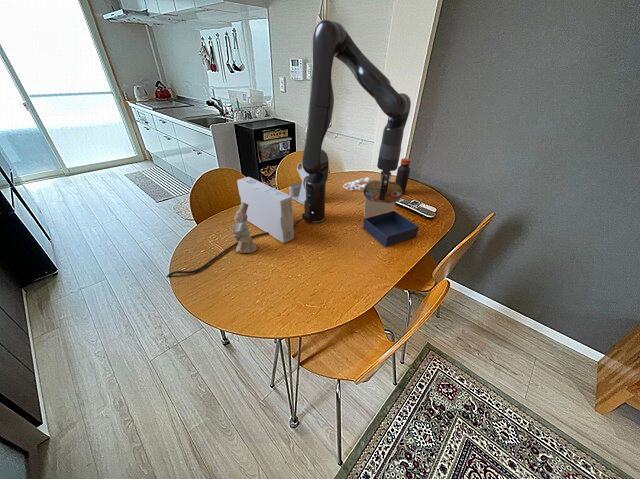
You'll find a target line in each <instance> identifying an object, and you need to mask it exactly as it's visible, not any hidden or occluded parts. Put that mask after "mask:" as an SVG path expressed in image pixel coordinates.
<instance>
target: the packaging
mask: <svg viewBox="0 0 640 479" xmlns="http://www.w3.org/2000/svg"><path fill="white" fill-rule="evenodd" d="M236 184H237V189H238V195H239V200H240V204H241V203H242V202H244V203H247V204H248V209H247V213H246V215H247V216H248V218H247V220H246V222H249V223H250V224H252V225H254V226H255V227H256V228H259V229H260V230H262V231H264V233H266V232H269V234H268V235H270V236H271V237H273V238H274V239H276V240H278V241H279V242H281V243H283V244H286V243H287V242H289V241H291V240H293V239H295V231H294V228H295V227H293V225H294V214H293V213H294V212H293V211H294V210H293V199H292V197H291V196H290V194H288V193H286V192H283V191H282V190H279V189H276V188H274V187H272V186H270V185H268V184H266V183H264V182H261V181H259V180H258V179H255V178H253V177H250V176H245V177H241V178H239V179H236Z"/></svg>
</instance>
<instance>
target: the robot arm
mask: <svg viewBox="0 0 640 479" xmlns="http://www.w3.org/2000/svg"><path fill="white" fill-rule="evenodd" d="M334 58H336V59H337V60H338V61H340V62H342V63H343V64H344V65H345V66H346V67H347V68H348V69H349V70H350V72H351V73H352V75H353V76H354V78H355V80H356V81H357V83H358V84H359V85H360V86H361V87H362V88H363V90H364V91H365V92H366V93H367V94H368V95H370V96H371V98H373V99H374V101H375V102H376V104H377V106H378V107H379V108H380V109H381V111H382V113H384V114H385V115H386V116H387V117H388V118H387V123H386V124H385V126H384V128H383V130H382V137H381V143H380V147H379V151H378V158H377V165H376V167H377V169H379V170H381V171H380V177H379V178H380V179H379V181H380V186H381V188H380V196H379V200H383V201H384V200H385V195H386V193H387V189H388V186H389V182H391V179H392V172H395V171H397V170H398V167H399V163H400V162H399V161H400V157H401V152H402V151H401V150H402V143H403V137H404V131H405V128H406V124H407V121H408V118H409V115H410V112H411V108H412V107H411V106H412V102H411V98H410V96H409V95H408V94H407V93H403V92H400V93H399V91H397V90H396V89H395V88H394V87H393V86H392V83H391V81H390V79H389V78H388V77H387V76H386V74H385V73H383V72H382V71H381V70H380V69H379V67H377V66H376V64H374V63H373V62H372V61H371V59H369V58H368V57H367V56H366V55H365V54H364V53H363V52H362V51H361V49H360V48H359V47H358V45H357V44H356V43H355V41H354V40H353V39H352V37H351V35H350V34H349V32H348V31H347V30H346V29H345V27H344V26H343V24H341V23H339V22H337V21H333V20H330V19H323V20H320V21H319V22H318V23H317V25H316V27H315V28H314V30H313V36H312V70H311V82H310V95H309V102H308V111H307V112H308V113H307V114H308V115H307V125H306V136H305V141H304V142H305V143H304V148H303V154H302V158H301V163H302V165H301V167H302V166H303V169H304V170H305V172H306V173H307V174H309V176H308V178H307V179H306V200H305V201H304V205H303V206H304V207H303V208H304V212H303V213H301V219H299V220H297V221H296V222H295V223H294V224H293V228H295V227H296V226H297V225H298V224H299V223H300V222H302V221H305V222H307V223H309V224H319V223H322V222H324V221H325V220H326V191H327V190H326V189H327V181H328V177H329V166H330V162H329V161H330V160H329V155H328V154H327V152H326V150H324V149H323V148H322V147H323V142H324V139H325V137H326V135H327V132H328V130H329V128H330V125H331V122H332V118H333V112H334V106H335V94H334V87H333V81H332V70H333V64H334ZM264 235H270V234H269V232H261V233H256V234H254V235H251V236H250V235H249V236H250V238H252V239H253V238H256V237H259V236H264ZM238 243H239V241H238V242H235V243H234V244H232V245H230V246H229V247H227V248H225V249H224V250H223V251H221V252H220V253H219V254H217V255H216V256H214V257H213V258H211V259H210V260H209V261H207V262H206V263H205V264H203V265H202V266H200V267H198V268H196V269H193V270H174V271H171V272H169V273H168V274H167V275H166V276H165V277H166V278H167V279H168V278H170V277H171V276H172V275H174V274H193V273H196V272H199V271H200V270H203V269H205V268H206V267H207V266H208V265H210V264H211V263H213V262H214V261H215V260H217V259H218V258H220V257H221V256H222V255H224V254H225V253H227V252H228V251H230V250H231V249H233V248H234V247H237V245H238Z"/></svg>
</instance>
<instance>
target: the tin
mask: <svg viewBox="0 0 640 479" xmlns="http://www.w3.org/2000/svg"><path fill="white" fill-rule="evenodd" d="M365 185H366V186H365V188H364V189H363V190H364V191H363V196H364V197H365V200H367V199H368V200H369V201H373V202H383V203H395V204H396V203H397V202H399V201H400V200H401V198H402V197H403V195H402V189H401V186H400V185H399V184H398V183H396V182H395V181H390V182H389V186H388V189H387V193H386V195H385V200H384V201H383V200H379V196H380V188H381V186H380V180H376V179H373V180H371V181H370V182H368V183H365Z"/></svg>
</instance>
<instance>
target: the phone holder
mask: <svg viewBox="0 0 640 479" xmlns="http://www.w3.org/2000/svg"><path fill="white" fill-rule="evenodd" d="M296 171H297V173H298V176H299V177H300V179H301V182H296V183H293V184H290V185H289V186H288V187H289V191H288V192H289V195H290V196H291V197H292V200H294V201H296V202H297V203H299V204H301V205H302V206H304V201H305V200H306V179H307V178H308V176H309V174H307V173H306V172H305V170H304V169H303V166H302V162H299V163H298V164H297V167H296Z"/></svg>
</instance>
